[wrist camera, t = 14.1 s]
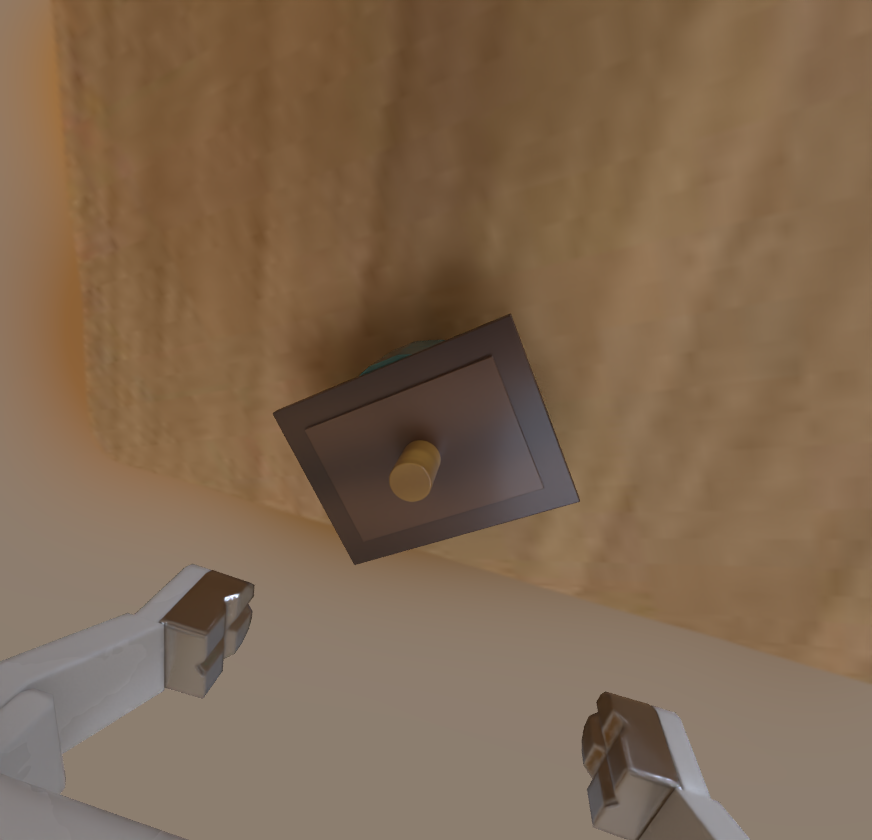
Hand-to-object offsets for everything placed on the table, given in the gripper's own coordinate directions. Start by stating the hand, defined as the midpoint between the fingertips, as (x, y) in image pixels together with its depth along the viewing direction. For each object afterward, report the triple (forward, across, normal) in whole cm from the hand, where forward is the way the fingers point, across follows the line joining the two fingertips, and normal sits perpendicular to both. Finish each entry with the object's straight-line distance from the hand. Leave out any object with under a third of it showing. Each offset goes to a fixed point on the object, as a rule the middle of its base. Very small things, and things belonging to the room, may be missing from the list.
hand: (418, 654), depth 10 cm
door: (+18, +2, +4) cm, 18 cm away
